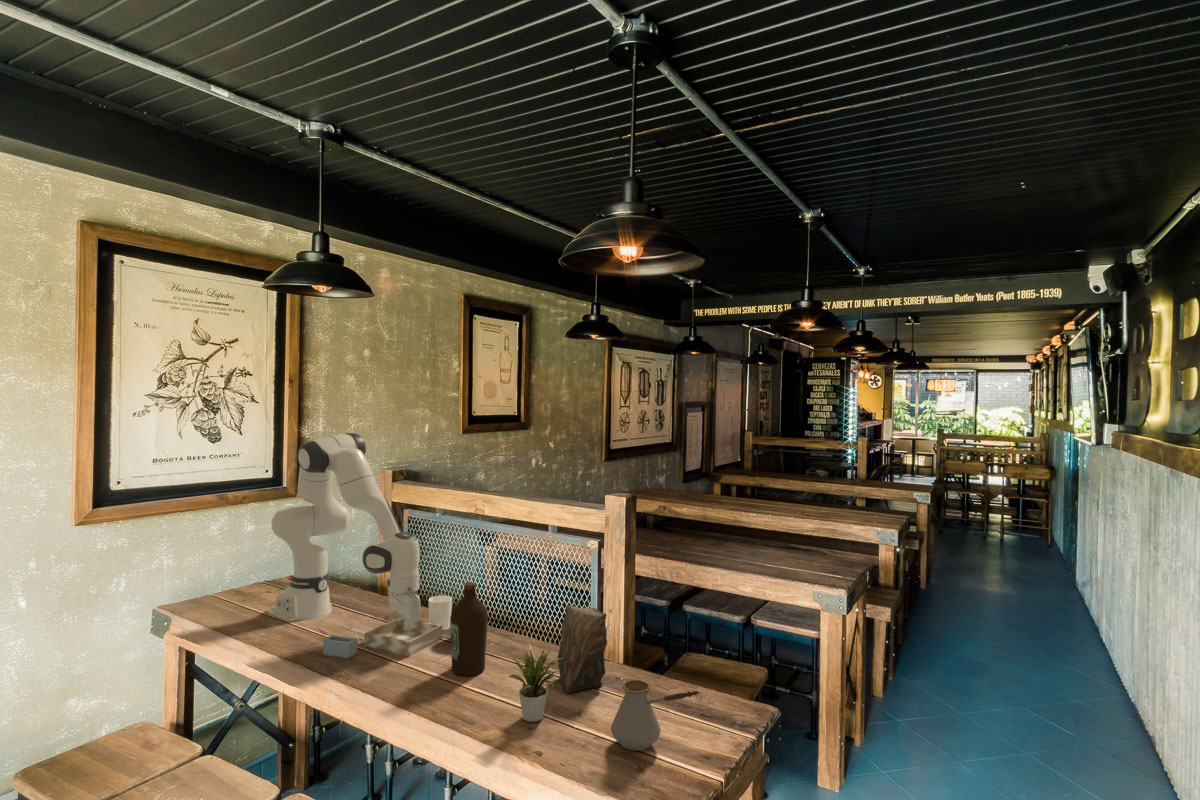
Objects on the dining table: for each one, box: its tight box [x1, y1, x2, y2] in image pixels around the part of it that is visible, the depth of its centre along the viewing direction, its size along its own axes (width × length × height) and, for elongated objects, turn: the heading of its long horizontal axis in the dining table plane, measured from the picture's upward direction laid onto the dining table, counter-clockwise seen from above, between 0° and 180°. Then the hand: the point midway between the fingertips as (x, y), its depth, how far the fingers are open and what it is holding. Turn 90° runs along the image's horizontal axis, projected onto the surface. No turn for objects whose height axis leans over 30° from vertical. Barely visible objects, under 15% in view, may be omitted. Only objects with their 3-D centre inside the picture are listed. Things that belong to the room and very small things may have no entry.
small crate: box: [322, 634, 358, 660], centre depth 189 cm, size 9×4×5 cm, turn 73°
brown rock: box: [557, 604, 608, 695], centre depth 174 cm, size 13×13×20 cm
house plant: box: [508, 648, 563, 723], centre depth 153 cm, size 14×14×16 cm
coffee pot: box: [610, 679, 702, 751], centre depth 141 cm, size 21×12×15 cm, turn 62°
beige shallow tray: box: [363, 617, 443, 658], centre depth 199 cm, size 18×16×4 cm
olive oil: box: [450, 581, 489, 677], centre depth 181 cm, size 11×11×25 cm
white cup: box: [428, 594, 453, 631], centre depth 214 cm, size 8×8×10 cm
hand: (404, 627), depth 199 cm, fingers open, 3 cm apart
